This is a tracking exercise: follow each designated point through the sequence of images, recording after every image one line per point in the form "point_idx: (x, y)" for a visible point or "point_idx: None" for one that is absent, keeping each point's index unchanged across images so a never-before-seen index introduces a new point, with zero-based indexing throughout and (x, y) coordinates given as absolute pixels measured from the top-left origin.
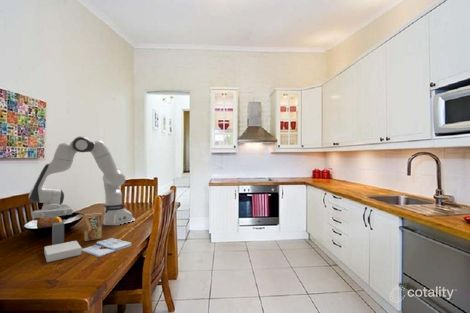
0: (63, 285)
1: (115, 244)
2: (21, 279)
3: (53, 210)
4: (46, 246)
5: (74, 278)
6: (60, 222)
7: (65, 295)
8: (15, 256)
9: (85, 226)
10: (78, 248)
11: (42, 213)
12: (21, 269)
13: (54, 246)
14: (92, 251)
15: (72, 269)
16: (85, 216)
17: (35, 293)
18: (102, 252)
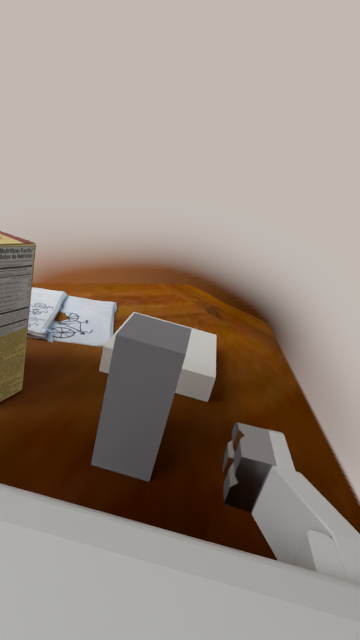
0: (203, 301)
1: (31, 302)
2: (255, 339)
3: (21, 513)
4: (209, 374)
5: (186, 301)
6: (136, 334)
7: (206, 294)
8: (305, 457)
9: (26, 311)
10: (141, 314)
11: (319, 518)
12: (262, 364)
13: (186, 358)
14: (106, 316)
15: (178, 312)
16: (32, 248)
17: (234, 310)
18: (96, 304)
